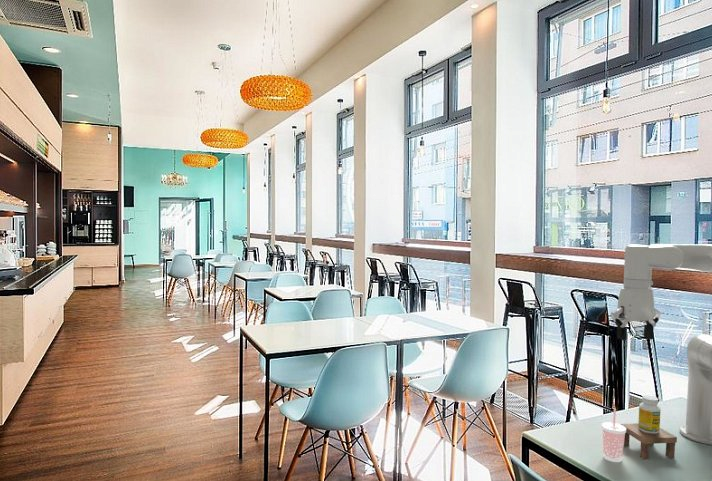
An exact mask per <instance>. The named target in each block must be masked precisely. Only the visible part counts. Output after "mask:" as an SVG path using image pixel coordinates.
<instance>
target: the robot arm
mask: <svg viewBox="0 0 712 481" xmlns="http://www.w3.org/2000/svg"><path fill="white" fill-rule="evenodd" d="M679 268H680V269H687V270H688V269H690V270H695V271H699V272H701V271H702V272H705V273H706V272H710V273H712V244H709V243H708V244H677V243H676V244H673V243H671V244H670V243H653V244H650V245H646V244H629V245H626V246H625V249H624V266H623V287H621V288H620V291H619V294H618V299H617V300H618V301H617V306H616V309H615V310H612V312H610V316H611V319H612V321H613V323H614V325H615V326H616V327H617V328H616V329H617V330H616V335H617V336H616V338H617V339H618V340H621V341H627V333H628V332H627V331H628V330H627V327H626V326H627V324H628V323H629V322H644V323H645V324H644V325H643V337H644V338H645V339H649V340H654V328H655V327H656V326H657V323H658V322H659V320H660V317H661V315H662V311H660V310H658V309H657V308H655V298H654V291H653V288H652V286H653V285H654V281H653V280H652V278H653V276H652V275H653V273H652V272H653V269H661V270H664V271H665V270H667V271H669V270H670V271H672V270H675V269H679ZM686 358H687V359H686V360H687V366H688V377H687V380H688V382H687V383H688V384H687V392H686V393H687V396H686V413H685V414H686V415H685V416H686V417H685V424H683V425H681V426H680V427H679V433H680V434H681V436H683V437H685V438H688V439H689V440H692V441H695V442H698V443H701V444H704V445H705V444H706V445H711V446H712V335H711V334H707V333H705V334H696V335H695V336H693V337H692V338H690V339H689V341H688V343H687V347H686Z"/></svg>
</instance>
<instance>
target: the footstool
mask: <svg viewBox="0 0 712 481" xmlns="http://www.w3.org/2000/svg"><path fill="white" fill-rule="evenodd" d="M638 423H639V422H638ZM638 423H621V424H620V425H623V426H624V427H626V433H625V438H624V446H623V448H624V447H625V448H626V447H630V439H631V437H632V438H634V439H636V440H637V441H639V442H640V451H639V452H640V453H639V457H640V458H641V459H642V460H649V459H650V446H654V445H655V444H665V457H667V458H669V459H675V455H676V454H675V451H676V443H677V441H678V437H677V436H675V435H674V434H672V433H670V432H668V431H667V430H665V429H664V428H661V427H660V430H659V433H657V434H650V433H646V432H643V431H641V430H640V429H639V428H638Z"/></svg>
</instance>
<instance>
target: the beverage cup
mask: <svg viewBox="0 0 712 481" xmlns="http://www.w3.org/2000/svg"><path fill="white" fill-rule="evenodd" d="M616 412H617V409H616V408H613V420H612V421H613V422H608V421H607V422H602V423H601V429H602V449H603V450H602V455H603V458H604V459H605V460H606V461H609V462H612V463H613V462H614V463H620V462H622V460H623V454H624V438H625V433H626V427H624V426H623V425H621V424H620V423H617V422H616V417H617V416H616Z"/></svg>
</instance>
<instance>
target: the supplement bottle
mask: <svg viewBox="0 0 712 481" xmlns="http://www.w3.org/2000/svg"><path fill="white" fill-rule="evenodd" d="M641 397H642V398H641V403H639V405H638V428H639V429H640V430H641V431H643V432H646V433H650V434H657V433H659V430H660V428H661V407H660V406H659V405H658V404H659V398H658V397H656V396H654V395H653V396H652V395H642V396H641Z"/></svg>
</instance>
